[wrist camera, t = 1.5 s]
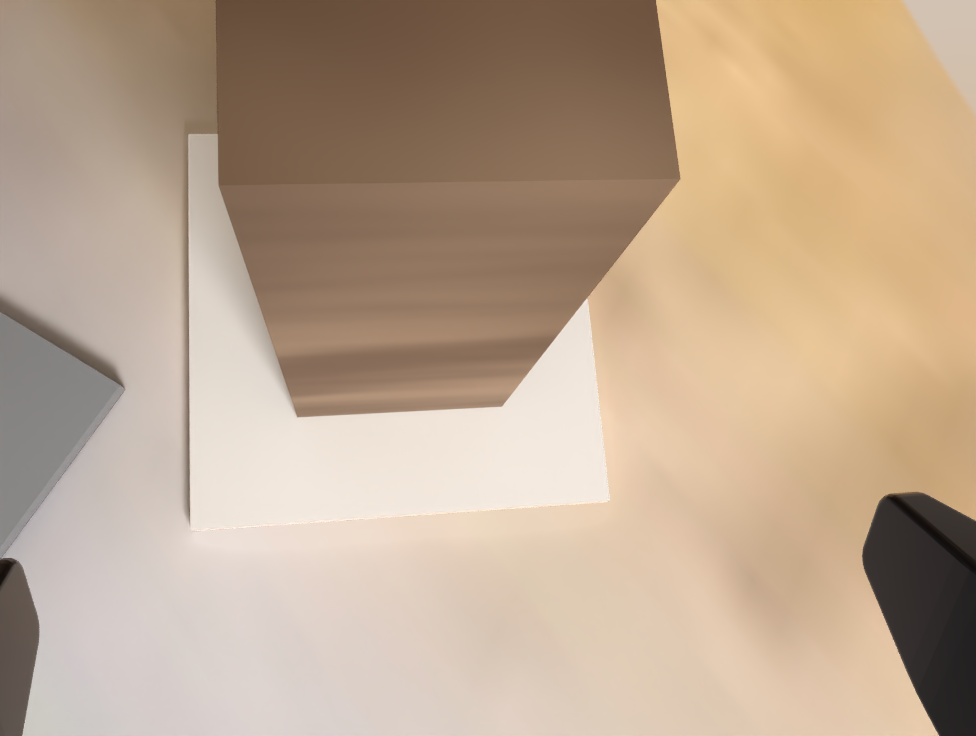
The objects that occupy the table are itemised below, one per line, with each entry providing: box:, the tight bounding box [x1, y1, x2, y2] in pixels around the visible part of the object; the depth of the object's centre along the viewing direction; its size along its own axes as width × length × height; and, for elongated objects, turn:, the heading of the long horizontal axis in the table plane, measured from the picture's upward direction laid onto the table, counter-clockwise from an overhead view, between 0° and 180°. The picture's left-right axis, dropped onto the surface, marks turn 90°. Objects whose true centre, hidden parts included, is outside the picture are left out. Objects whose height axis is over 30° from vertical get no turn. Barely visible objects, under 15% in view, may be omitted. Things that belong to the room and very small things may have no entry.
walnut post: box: [216, 0, 680, 417], centre depth 17 cm, size 5×5×13 cm
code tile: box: [188, 134, 610, 531], centre depth 23 cm, size 10×10×1 cm
